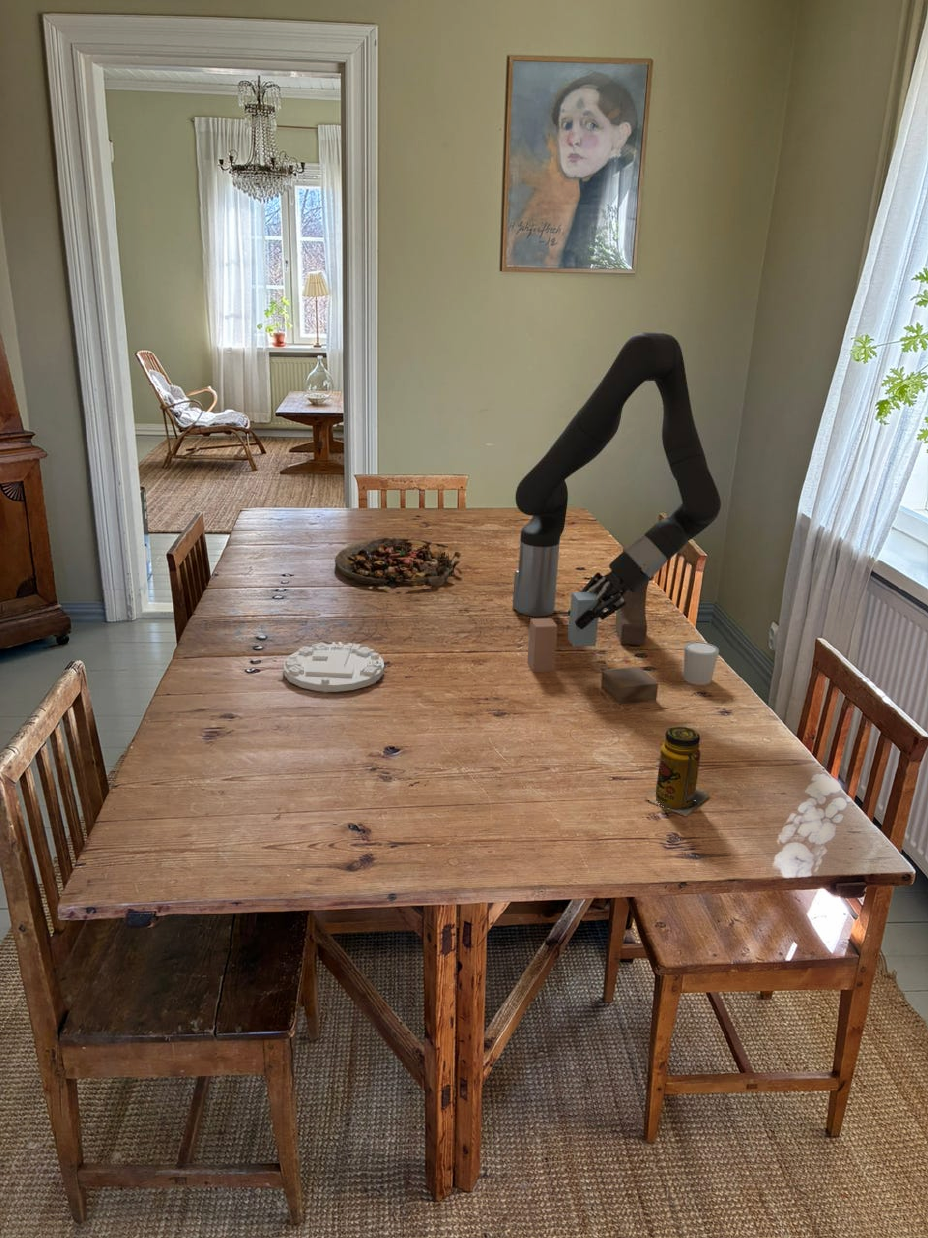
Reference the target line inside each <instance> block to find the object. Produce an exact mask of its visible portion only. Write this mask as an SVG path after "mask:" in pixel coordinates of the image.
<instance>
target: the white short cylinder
mask: <svg viewBox="0 0 928 1238" xmlns="http://www.w3.org/2000/svg"><path fill="white" fill-rule="evenodd" d="M683 651H684V652H683V653H684V654H683V655H684V656H683V677H682V678H683V680H684V681H686V682H687V683H690V684H692V685H698V686H703V685H704V686H706V685H709V684H710V683H712V680H713V677H714V672H715V668H716V665H717V661H718V656H719V654H720V650H719V648H718V647H717V646H716V645H714V644H712V643H708V642H704V641H691V642H687V643H685V644H684V648H683Z"/></svg>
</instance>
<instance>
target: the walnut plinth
mask: <svg viewBox="0 0 928 1238" xmlns="http://www.w3.org/2000/svg"><path fill="white" fill-rule="evenodd" d="M600 688H601V689H602V690H603V692H605V693H606V694H607V695H608V696H609V697H610V699H612V700H613V701H614V702H615V703H617V705H618V706H623V705H633V704H640V703H647V702H656V701H657V698H658V697H657V696H658V688H659V682H657V681H656V680H655V679H654V678H652V676H651V675H649V674H648V673H646V671H644V670H643V669H642V668H641V667H639V666H634V667H633V666H632V667H623V668H614V669H606V670H602V672H601V682H600Z"/></svg>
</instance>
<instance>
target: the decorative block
mask: <svg viewBox="0 0 928 1238" xmlns="http://www.w3.org/2000/svg"><path fill="white" fill-rule="evenodd" d="M630 545H631V544H624V545H623V548H622V552H623V551H624V550H626V549H627V548H628V547H629V546H630ZM653 580H654V575H653V576H652V577H651V578H650V579H649V580H648V581H647V582H646V583H645V584H643V585H642V586H641V587H640V588H639V589H638V590H637V591H636V592H632V591H630V590H628V591H627V592H626V593H625V594H624V596H623V599H624V600H625V601H626V604H625V605H624V606H623V607H621V608H620V609H618V610H617V611H615V612H616V613H615V622H614V623H615V624H614V626H615V627H614V628H615V630H616V633H617V636H618V639H619V643H620V644H621V645H625V646H627V645H630V646H645V645H646V641H647V632H648V631H647V630H648V624H647V616H646V610H647V609H646V608H647V607H646V604H647V602H646V601H647V591H648V586H649V583H650V582H652V581H653Z"/></svg>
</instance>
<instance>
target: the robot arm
mask: <svg viewBox="0 0 928 1238" xmlns="http://www.w3.org/2000/svg"><path fill="white" fill-rule="evenodd" d="M645 382H654V383H655V385H656V388H657V389H658V392H659V395H660V397H661V401H662V405H663V406H662V407H663V409H662V411H663V415H662V416H663V417H662V426H661V427H662V428H661V441H662V445H663V450H664V454H665V456H666V457H665V458H666V460H667V463H668V466H669V469H670V472H671V474H672V477H674V479H675V481H676V484H677V487H678V488H677V489H678V491H679V495H680V498H681V503H680V504H679V506H678V507H676V508H675V509H674V510H673V511H672V512H671V513H670V514H668V516H667V517H664V518H662V519H660V520H659V521H658V522H656V523H655V524H654V525H653V526H652V527H651V528H650V529H648V530H647V531H646V532H645V533H644V534H643V535H642V536H640V537H639V538H637V539H636V540H634V541H633V542H632V543H631V544H629V545H630V546H629V547H628V548H627V549H626V550H624V551H623V550H622V552H621V553H620V554H619V555H617V556H616V557H615V558H614V559H613V560H612V561H611V562H610V563H608V567H609V569H610V570H611V571H610V572H608V573H606V574H605V575H602V574H601V573H600V572H596V573H595V574H594V576H593V577H591V579H590V580H589V582H587V584H585V586H584V587H583V588H582V589H581V590H580V592H589V593H595V594H596V595H597V596H596V597H595V600H596V602H595V603H594V604H593V605H592V606H591V607H590V608H589V610H587V611H586V612H585V613H583V614H582V615H581V616H580V617H579V618H578V619H577V620H575V624H576V625H577V626H578V627H579V628H580V629H584V628H585V627H586V626H587V625H588V624H589V623H590V622H591V621H593V620H594V619H595V618H598V619H599V618H600V619H601V620H602V621H603V620H605V619H606V618H608V617H610V616H611V615H612V614H614V613H615V612H617V610H618V609H620V608H621V607H623V606H624V605H625V604H626V601H625V600H624V599H623V596H624V594H625V593H626V592H627V591H628V590H630V591H632V592H636V591H637V590H638V589H639V588H640V587H641V586H642V585H643V584H645V583H646V582H647V581H648V580H649V579H650V578H651V577H652V576H653V577H654V576H655V575H656V574H657V573H658V572H659V571H660V570H661V569H662V568H663V567H664V565H666V563H668V561H670V560H671V558H673V557H674V556H675V555H676V554H677V553H678V552H679V551H681V550H682V549H683V548H684V546H685V545H686V544H687V543H688V542H689V541H691V540H693V538H695V537H696V536H697V535H699V534H700V533H701V532H702V531H704V530H705V529H706V528H708V527H709V526H710V525H711V524H712V523H713V522H714V521H716V519H717V518H718V516H719V514H720V511H721V508H722V501H721V496H720V493H719V490H718V487H717V485H716V483H715V481H714V478H713V476H712V474H711V471H710V469H709V466H708V461H707V458H706V455H705V452H704V449H703V445H702V442H701V439H700V437H699V433H698V430H697V427H696V426H697V425H696V424H695V419H694V415H693V410H692V403H691V399H690V398H691V397H690V392H689V386H688V382H687V373H686V366H685V360H684V356H683V351H682V348H681V345H680V343H679V341H678V340H677V339H676V338H675V337H674V336H673V335H671V334H668V333H662V332H640V333H637V334H634V335H632V336H631V337H630V338H628V340H627V341H626V342H625V343H624V344H623V346H622V348H621V349H620V351H619V352H618V354H617V356H616V357H615V359H614V360H613V362H612V364H611V365H610V368H608V371H607V372H606V374H605V375H604V376H603V378H602V380H601V382H600V383H599V384H598V385H597V387H596V388H595V389H594V390H593V392H592V393H591V394H590V396H589V398H588V399H587V400H586V401H585V403H584V404H583V405H582V407H581V408H579V410H578V411H577V413H576V414H575V415H574V416H573V417H572V419H571V421H570V422H569V423H568V424H567V426H566V427H565V429H564V430H563V432H562V433H561V434H560V435H559V437H558V438H557V439H556V440H555V442H554V443H553V444H552V445H551V447H550V449H549V450H548V451H547V452H546V454H545V455H544V456H543V457H542V458H541V460H540V461H538V463H537V464H536V465H535V466H534V467H533V468H532V469H531V470H530V471H529V472H528V473H527V474H526V475H525V476H524V477H523V478H522V479H521V480H520V482H519V483H518V485H517V487H516V491H515V504H516V507H517V508H518V511H520V512H521V513H523V514H524V515H526V516H532V518H531V519H530V521H529V522H528V523H526V524H525V525H524V526H522V528H521V530H520V539H519V556H518V569H517V570H515V571H514V579H513V593H512V595H513V596H512V610H515V611H516V612H518V613H520V614H521V615H524V616H527V617H528V616H529V617H538V618H539V617H540V618H541V617H547V616H550V615H552V614H554V612H555V606H556V591H557V582H558V581H557V579H558V568H559V555H560V554H559V553H560V545H561V544H560V541H561V536H562V535H563V532H564V529H565V526H566V525H565V524H566V517H567V508H568V501H569V491H568V486H567V481H566V479H568V478H569V477H570V476H571V475H573V474H574V473H576V472H577V471H579V470H581V469H582V468H584V467H585V466H586V465H587V464H589V463H590V462H592V460H593V461H594V459H595V458H597V456H599V454H601V453H602V452H603V451H604V449H605V448H606V447H607V445H608V444H609V443H610V442H611V440H612V439H613V438H614V437H615V435H616V434H617V432H618V430H619V426H620V423H621V418H622V413H623V410H624V409H623V408H624V406H625V404H626V402H627V401H628V400H629V398H630V397H631V396H632V395H633V394H634V392H635V391H636V390H637V389H638V388H639V387H640V386H641V385H642V384H644V383H645ZM599 604H600V606H598V605H599ZM597 606H598V607H597ZM567 614H568V616H569V617H570V609H569V610H568V611H567Z"/></svg>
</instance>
